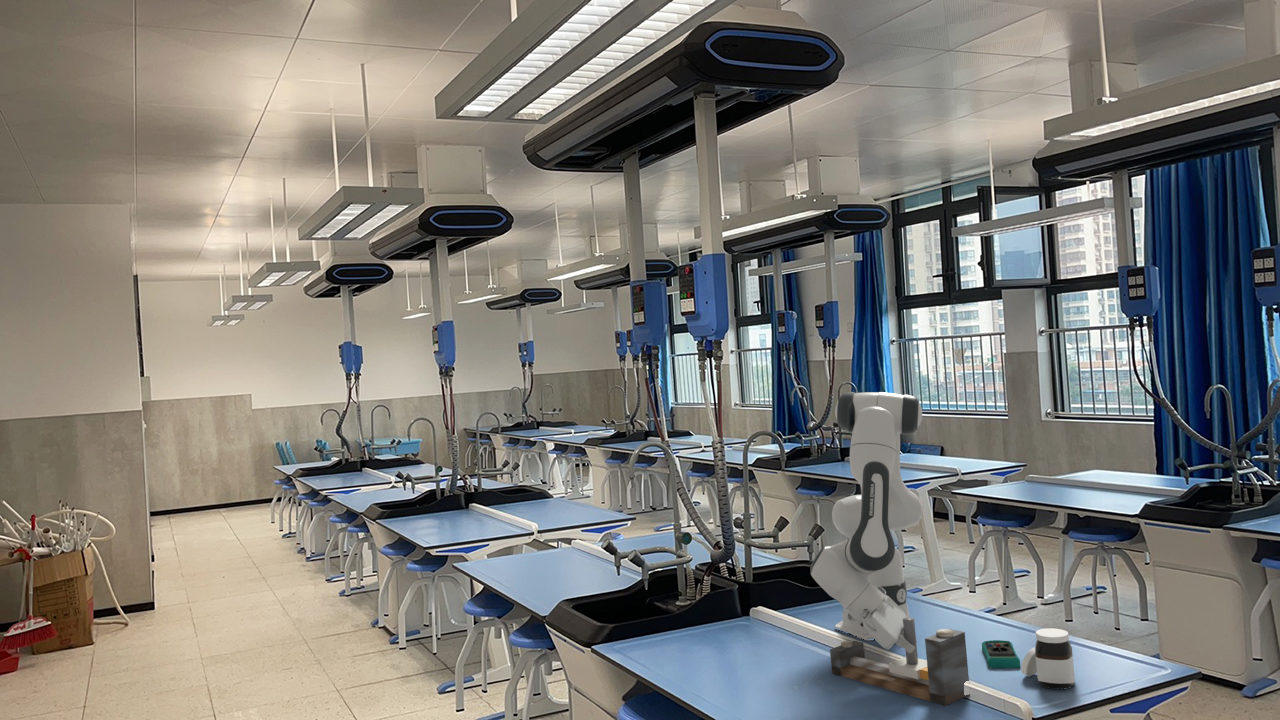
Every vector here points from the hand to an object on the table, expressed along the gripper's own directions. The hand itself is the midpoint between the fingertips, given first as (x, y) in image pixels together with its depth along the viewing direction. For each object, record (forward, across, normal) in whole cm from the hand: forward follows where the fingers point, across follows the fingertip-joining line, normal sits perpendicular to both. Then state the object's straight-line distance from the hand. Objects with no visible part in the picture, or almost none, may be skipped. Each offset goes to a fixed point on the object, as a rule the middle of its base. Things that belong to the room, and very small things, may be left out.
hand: (913, 647), depth 216 cm
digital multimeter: (+20, +24, -5) cm, 31 cm away
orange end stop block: (+7, -3, +1) cm, 7 cm away
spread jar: (+27, +8, -13) cm, 31 cm away
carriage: (+4, 0, +4) cm, 6 cm away
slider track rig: (+3, +2, +10) cm, 11 cm away
